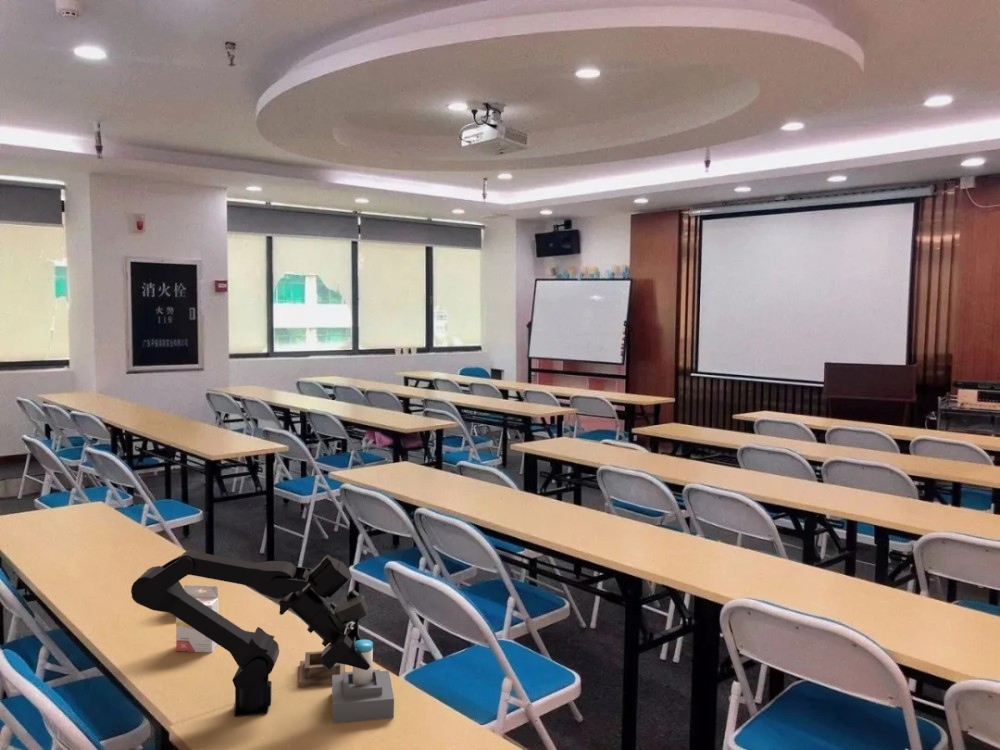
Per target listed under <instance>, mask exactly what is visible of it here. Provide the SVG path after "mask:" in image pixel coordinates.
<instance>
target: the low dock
mask: <svg viewBox="0 0 1000 750" xmlns="http://www.w3.org/2000/svg"><path fill="white" fill-rule="evenodd" d="M322 653H323V650H320V651H319V650H318V651H307V652H305V654H304V656H305V657H304V660H300V661H299V673H298V687H299V686H302V687H308V686H309V687H310V686H312V685H313V686H323V685H324V684H325V685H332V675H340V674H343V672H346V665H345V664H340V663H336V664H335V665H334V666H333V667H332V668H331V669H329V670H327V669H326V668H325V667H324V666H323V665H322V664H321V656H322ZM321 684H322V685H321ZM325 685H324V686H325ZM313 686H312V687H313Z"/></svg>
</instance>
